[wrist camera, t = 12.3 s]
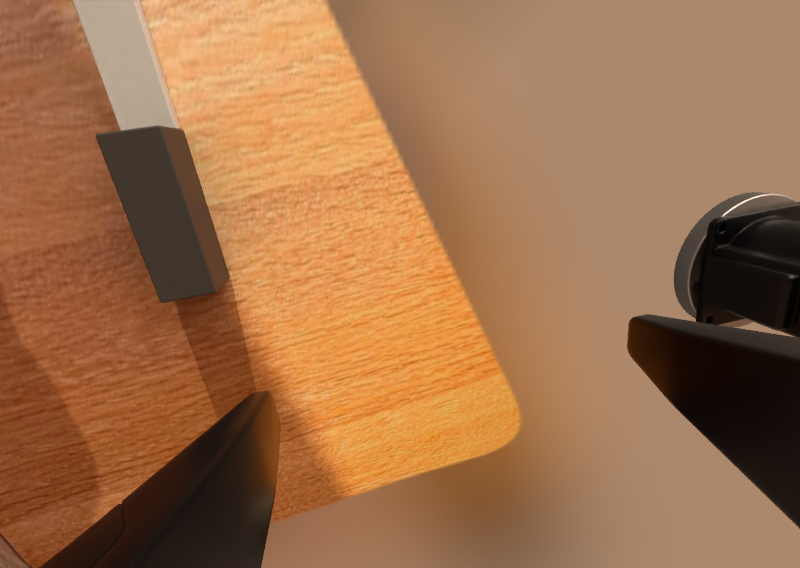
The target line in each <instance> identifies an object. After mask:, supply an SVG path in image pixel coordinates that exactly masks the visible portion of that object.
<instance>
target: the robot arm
mask: <svg viewBox="0 0 800 568" xmlns="http://www.w3.org/2000/svg"><path fill="white" fill-rule="evenodd" d="M719 226H720V227H719ZM742 319H748V320H750V321H753V322H756V323H758V324H761V325H764V326H766V327H769V328H771V329H774V330H779V331H781V332H784V333H787V334H789V335H792V336H794V337H789V336H783V335H777V334H771V333H764V332H758V331H751V330H745V329H739V328H732V327H726V326H719V325H720V324H725V323H729V322H734V321H738V320H742ZM796 337H797V338H796ZM627 348H628V352H629V354H630V356H631V357H632V358H633V360H634V361H635V362H636V363H637V364H638V365H639V367H640V368H641V369H642V370H643V371H644V372H645V374H646V375H647V376H648V377H649V378H650V379H651V381H652V382H653V383H654V384H655V385H656V386H657V387H658V389H659V390H660V391H661V392H662V393H663V395H664V396H665V397H666V398H667V399H668V400H669V401H670V402H671V404H673V405H674V406H675V408H676V409H678V411H680V413H681V414H682V415H683V416H685V417H686V418H687V419H688V420H689V421H690V422H691V423H692V424H693V425H694V426H695V427H696V428H697V429H698V430H699V431H700V432H701V433H702V434H703V435H704V436H705V437H706V438H707V439H708V440H709V441H710V442H711V443H712V444H713V445H714V446H715V447H716V448H717V449H719V450H720V451H721V452H722V453H723V454H724V455H725V456H726V457H727V458H728V459H729V460H730V461H731V462H732V463H733V464H734V465H735V466H736V467H737V468H738V469H739V470H740V471H741V472H742V473H744V475H745V476H746V477H747V478H748V479H749V480H751V482H752V483H753V484H755V485H756V486H757V487H758V488H759V489H760V490H761V491H762V492H763V493H764V494H765V495H766V496H767V497H768V498H769V499H770V500H771V501H772V502H773V503H774V504H775V505H776V506H777V507H778V508H779V509H780V510H781V511H782V512H783V513H785V514H786V516H787V517H788V518H789V519H791V520H792V521H793V522H794V523H795V524H796V525H797V526H798V527H799V528H800V202H797V203H791V204H786V205H781V206H776V207H770V208H765V209H760V210H755V211H750V212H744V213H739V214H734V215H729V216H723V217H718V218H715V219H713V220H712V221H711V222H710V224H709V225H708V229H707V237H706V244H705V252H704V260H703V267H702V275H701V282H700V290H699V298H698V305H697V313H696V322H693V321H687V320H681V319H674V318H668V317H662V316H655V315H642V316H637V317H633V318H632V319H631V320H630V322H629V329H628V343H627ZM280 431H281V425H280V419H279V415H278V412H277V408H276V405H275V402H274V398H273V395H272V393H271V392H270V391H269V390H264V391H259V392H254V393H251V394H250V395H249V396H248V397H246V398H245V399H244V400H243V401H242V402H240V403H239V404H238V405H237V406H236V407H234V408H233V409H232V410H231V411H230V412H228V413H227V414H226V415H225V416H224V417H222V418H221V419H220V420H219V421H218V422H216V423H215V424H214V425H213V426H212V427H210V428H209V429H208V430H207V431H206V432H204V433H203V434H202V435H201V436H200V437H198V438H197V439H196V440H195V441H194V442H192V443H191V444H190V445H189V446H188V447H186V448H185V449H184V450H183V451H182V452H180V453H179V454H178V455H177V456H176V457H174V458H173V459H172V460H171V461H170V462H168V463H167V464H166V465H165V466H164V467H162V468H161V469H160V470H159V471H158V472H156V473H155V474H154V475H153V476H152V477H150V478H149V479H148V480H147V481H146V482H144V483H143V484H142V485H141V486H140V487H138V488H137V489H136V490H135V491H134V492H132V493H131V494H130V495H129V496H128V497H126V498H125V499H124V500H123V501H122V504H118V505H117V506H115V507H114V508H113V509H112V510H111V511H109V512H108V513H107V514H106V515H105V516H103V517H102V518H101V519H100V520H99V521H97V522H96V523H95V524H94V525H93V526H91V527H90V528H89V529H88V530H86V531H85V532H84V533H83V534H81V535H80V536H79V537H78V538H77V539H75V540H74V541H73V542H72V543H70V544H69V545H68V546H67V547H65V548H64V549H63V550H61V551H60V552H59V553H58V554H56V555H55V556H54V557H52V558H51V559H50V560H48V561H47V562H46V563H45V564H43V565H42V566H41V567H39V568H261V564H262V560H263V554H264V549H265V544H266V539H267V534H268V529H269V524H270V519H271V514H272V508H273V503H274V498H275V492H276V482H277V470H278V457H279V444H280Z"/></svg>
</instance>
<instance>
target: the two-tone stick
mask: <svg viewBox="0 0 800 568" xmlns="http://www.w3.org/2000/svg"><path fill="white" fill-rule="evenodd" d="M73 3H74V5H75V8H76V11H77V14H78V16H79V19H80V22H81V24H82V27H83V30H84V33H85V35H86V38H87V41H88V43H89V46H90V49H91V52H92V54H93V57H94V60H95V62H96V65H97V68H98V71H99V73H100V76H101V79H102V82H103V84H104V87H105V90H106V92H107V95H108V98H109V101H110V103H111V106H112V109H113V111H114V114H115V117H116V120H117V122H118V125H119V128H120V131H113V132H106V133H99V134H96V138H97V141H98V144H99V146H100V149H101V151H102V154H103V156H104V159H105V162H106V164H107V167H108V169H109V172H110V174H111V177H112V179H113V182H114V185H115V187H116V190H117V192H118V195H119V197H120V200H121V203H122V205H123V208H124V210H125V213H126V215H127V218H128V220H129V223H130V226H131V228H132V231H133V233H134V236H135V238H136V241H137V243H138V246H139V249H140V251H141V254H142V256H143V259H144V261H145V264H146V267H147V269H148V272H149V274H150V277H151V279H152V282H153V284H154V287H155V290H156V292H157V295H158V297H159V300H160V302H161V303H164V302H170V301H175V300H180V299H186V298H191V297H197V296H202V295H207V294H213V293H216V292H217V291H218V290H219V288H220V287H221V286H222V285H223V284H224V283H225V282H226V281H227V280H228V278H229V273H228V270H227V267H226V264H225V261H224V258H223V254H222V251H221V248H220V245H219V242H218V239H217V235H216V232H215V229H214V226H213V223H212V220H211V216H210V213H209V210H208V207H207V204H206V201H205V197H204V194H203V191H202V188H201V185H200V182H199V178H198V175H197V172H196V169H195V166H194V163H193V159H192V156H191V153H190V150H189V147H188V144H187V140H186V137H185V134H184V131H183V130H181V129H180V126H179V122H178V119H177V116H176V113H175V110H174V107H173V104H172V100H171V97H170V94H169V91H168V88H167V85H166V81H165V78H164V75H163V72H162V69H161V66H160V63H159V59H158V56H157V53H156V50H155V47H154V44H153V41H152V37H151V34H150V31H149V28H148V25H147V22H146V18H145V15H144V12H143V9H142V6H141V3H140V0H73Z"/></svg>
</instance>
